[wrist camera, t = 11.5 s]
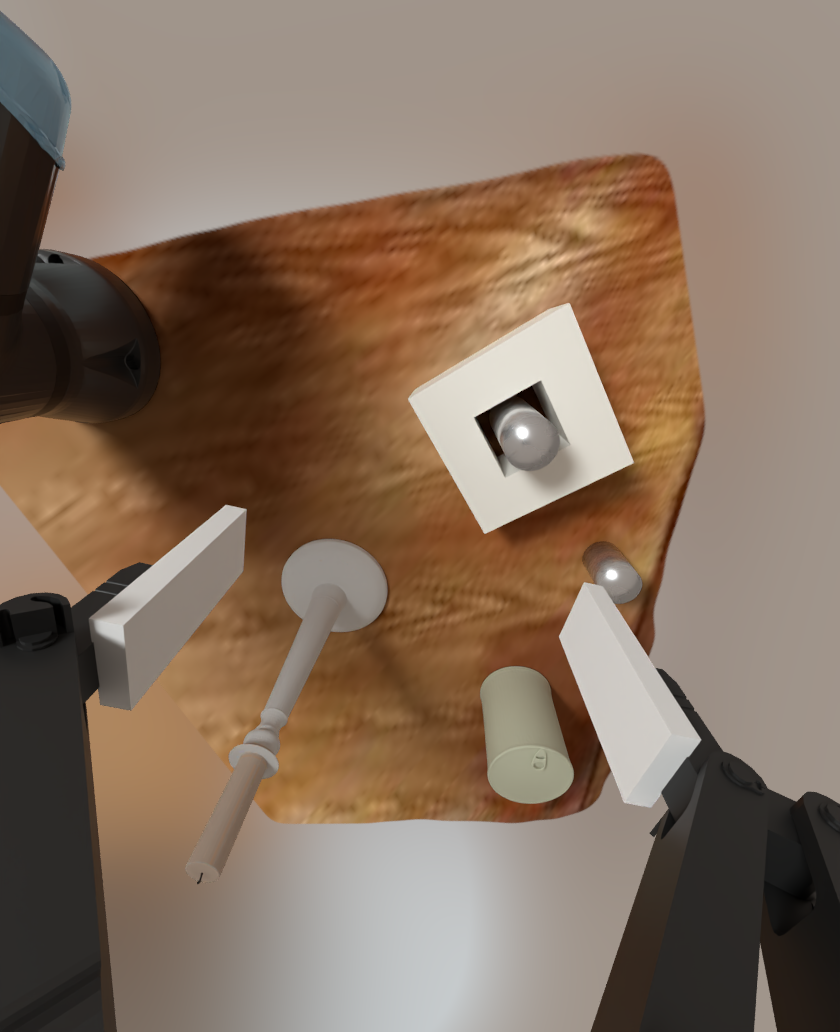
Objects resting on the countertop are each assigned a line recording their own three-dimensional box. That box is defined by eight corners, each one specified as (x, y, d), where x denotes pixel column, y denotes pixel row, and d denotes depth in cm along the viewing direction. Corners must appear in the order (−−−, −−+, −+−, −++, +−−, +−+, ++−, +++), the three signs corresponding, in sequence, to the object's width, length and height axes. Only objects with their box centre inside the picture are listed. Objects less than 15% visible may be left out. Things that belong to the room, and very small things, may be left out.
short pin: (576, 550, 46) (594, 579, 41) (611, 535, 45) (634, 562, 40) (590, 578, 48) (608, 609, 42) (624, 563, 47) (647, 594, 41)
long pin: (482, 408, 41) (494, 433, 30) (519, 387, 40) (546, 406, 29) (499, 443, 42) (518, 480, 31) (536, 424, 41) (568, 455, 30)
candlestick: (334, 517, 47) (170, 773, 19) (409, 593, 50) (359, 903, 23) (261, 578, 51) (38, 863, 23) (335, 645, 54) (216, 963, 27)
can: (559, 673, 53) (588, 760, 42) (538, 723, 57) (559, 815, 46) (489, 659, 53) (499, 743, 42) (472, 710, 57) (478, 800, 46)
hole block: (414, 389, 41) (407, 399, 34) (548, 308, 37) (569, 302, 31) (479, 505, 45) (484, 533, 39) (605, 443, 42) (633, 462, 35)
